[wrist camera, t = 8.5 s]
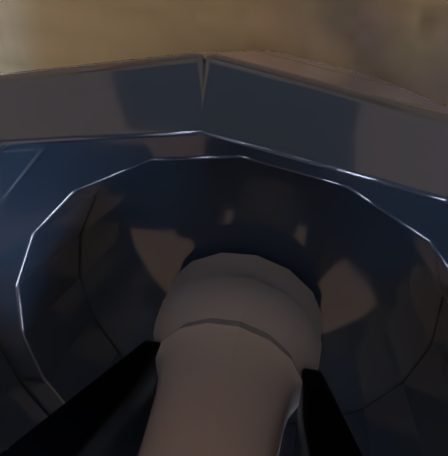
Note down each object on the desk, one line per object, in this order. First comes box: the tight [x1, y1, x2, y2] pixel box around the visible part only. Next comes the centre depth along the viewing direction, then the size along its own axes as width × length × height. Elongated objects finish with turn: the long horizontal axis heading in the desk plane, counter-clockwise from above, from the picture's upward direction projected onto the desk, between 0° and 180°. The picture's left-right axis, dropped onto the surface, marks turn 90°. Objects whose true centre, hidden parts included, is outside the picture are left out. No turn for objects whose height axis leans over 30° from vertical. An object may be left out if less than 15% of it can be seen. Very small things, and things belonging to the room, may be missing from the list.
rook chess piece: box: [138, 253, 323, 456], centre depth 6 cm, size 4×4×8 cm
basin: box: [0, 50, 448, 456], centre depth 8 cm, size 13×13×6 cm
